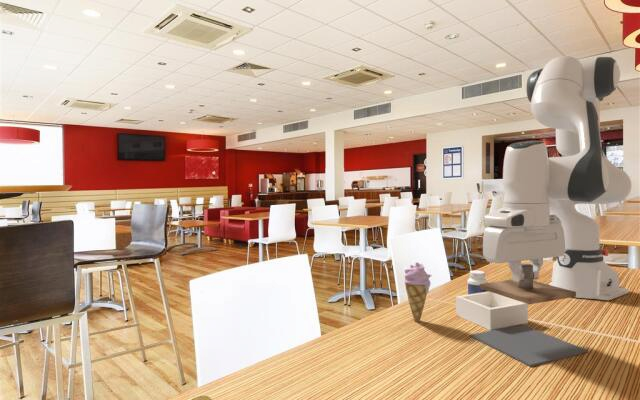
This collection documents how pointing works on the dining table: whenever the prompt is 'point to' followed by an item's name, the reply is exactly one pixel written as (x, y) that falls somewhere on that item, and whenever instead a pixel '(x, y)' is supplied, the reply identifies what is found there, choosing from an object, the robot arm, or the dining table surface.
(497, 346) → the mat
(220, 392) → the dining table surface
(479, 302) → the dish
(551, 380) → the dining table surface
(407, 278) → the ice cream cone
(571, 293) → the lid
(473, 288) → the pill bottle
